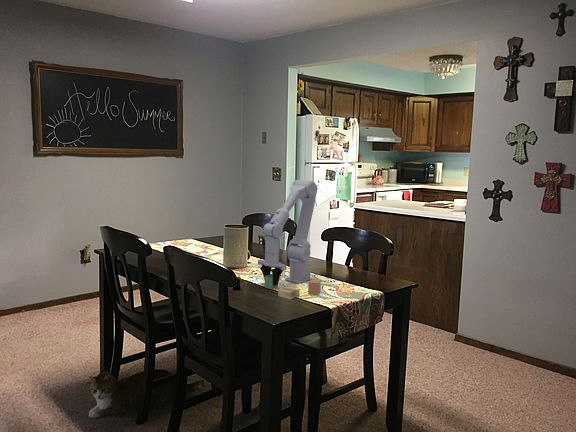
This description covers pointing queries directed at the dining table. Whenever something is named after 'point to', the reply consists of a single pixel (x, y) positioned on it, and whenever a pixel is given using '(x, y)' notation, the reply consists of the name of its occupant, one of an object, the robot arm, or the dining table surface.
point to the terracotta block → (314, 287)
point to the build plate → (237, 286)
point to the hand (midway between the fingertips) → (271, 284)
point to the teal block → (269, 282)
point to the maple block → (288, 292)
